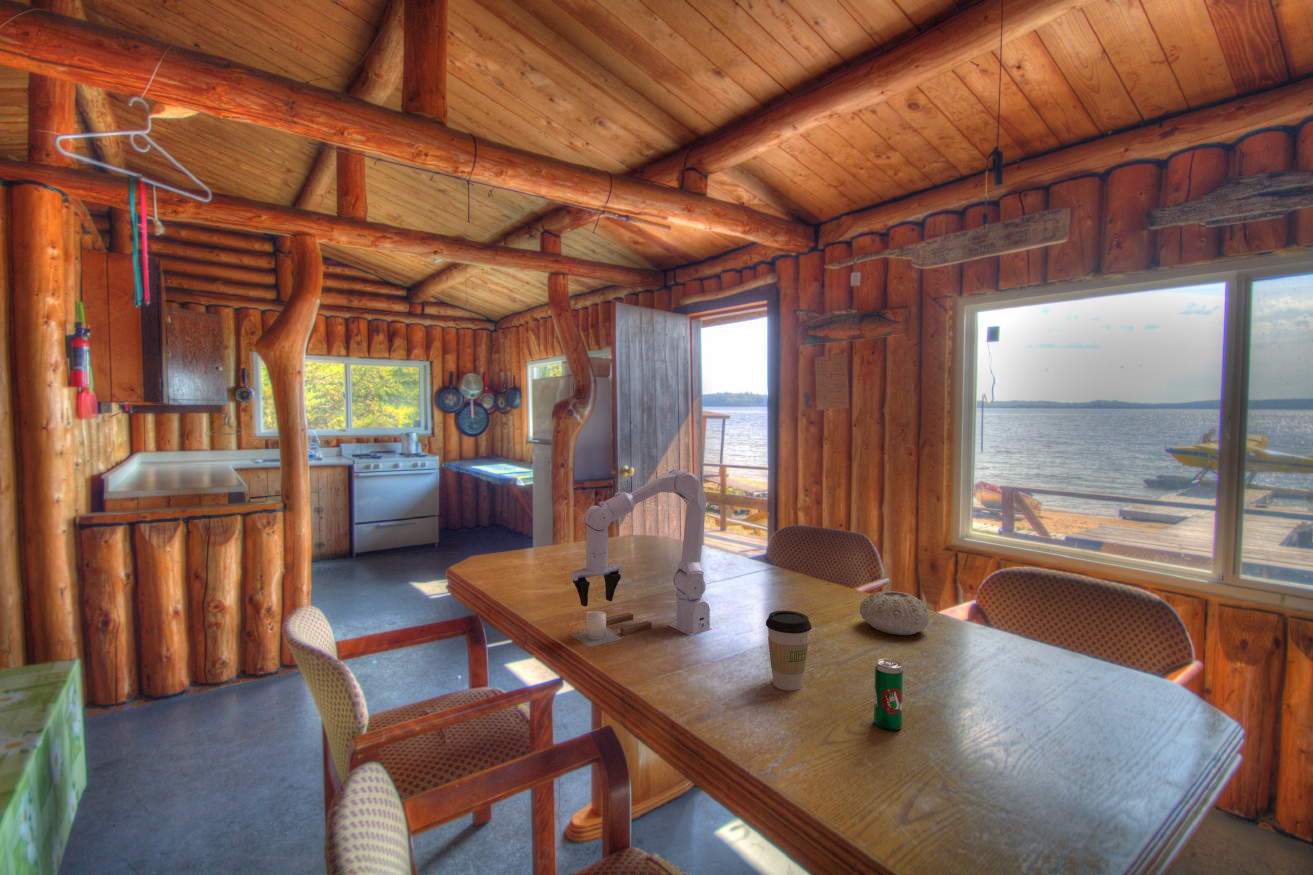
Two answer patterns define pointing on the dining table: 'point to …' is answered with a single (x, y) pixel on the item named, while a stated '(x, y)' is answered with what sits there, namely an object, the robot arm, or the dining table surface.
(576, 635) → the grey mat
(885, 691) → the soda can
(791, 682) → the coffee cup
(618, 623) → the walnut cradle
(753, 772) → the dining table surface
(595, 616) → the cream jug
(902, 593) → the decorative shell
